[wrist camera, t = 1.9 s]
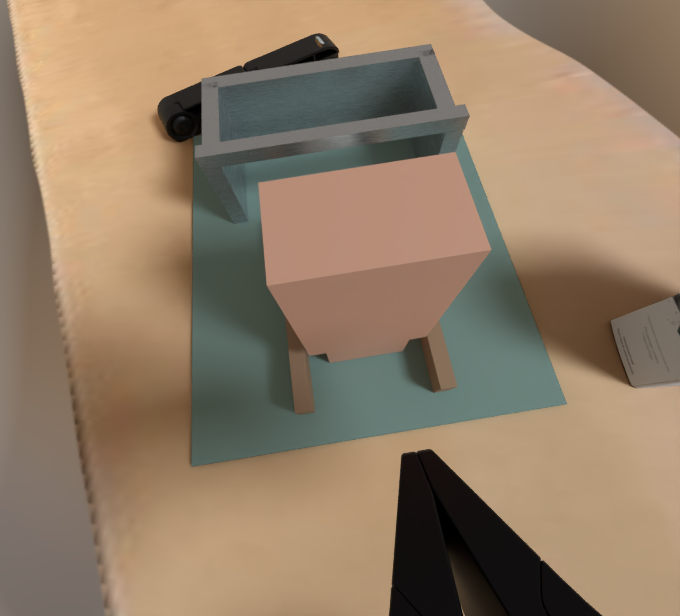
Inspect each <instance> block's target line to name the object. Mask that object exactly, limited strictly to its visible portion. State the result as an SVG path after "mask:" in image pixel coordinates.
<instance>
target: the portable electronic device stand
mask: <svg viewBox="0 0 680 616" xmlns="http://www.w3.org/2000/svg"><path fill="white" fill-rule="evenodd" d="M338 53H339V49H338V48H337V47H336V46H335V45H334V43H333V42H332V41H331V40H330V39H329V38H328V37H327V36H326V35H324V34H320V33H318V34H313V35H311V36H308V37H306V38H304V39H301V40H299V41H296V42H294V43H292V44H289V45H287V46H285V47H282V48H280V49H277V50H275V51H273V52H270V53H268V54H266V55H263V56H261V57H258V58H256V59H254V60H251V61H249V62H247V63H245V65H244V66H243V67H242V66H237V67H234V68H232V69H230V70H227V71H225V72H223V73H220V74H218V75H216V76H223V75H229V74H236V73H242V72H249V71H256V70H262V69H269V68H276V67H282V66H289V65H295V64H302V63H309V62H315V61H322V60H329V59H335V58H338ZM216 76H213V77H216ZM158 115H159V117H160V119H161V121H162V123H163V125H164V127H165V129H166V131H167V132H168V134H169V136H170V137H171V138H172V139H174V140H176V141H178V142H183V141H185V140H187V139H189V138H191V137H193V136H196V135H199V134H201V133H202V85H201V82H199V83H197V84H195V85H192V86H190V87H188V88H185V89H183V90H181V91H178V92H176V93H174V94H172V95H169V96H167V97H165V98H163V99H162V100H161V101H160V103H159V105H158Z"/></svg>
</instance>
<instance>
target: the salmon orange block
mask: <svg viewBox="0 0 680 616" xmlns="http://www.w3.org/2000/svg"><path fill="white" fill-rule="evenodd" d="M258 186H259V198H260V210H261V222H262V234H263V246H264V258H265V270H266V283H267V287H268V289H269V290H270V292H271V294H272V295H273V297H274V298H275V300H276V302H277V303H278V305H279V307H280V308H281V310H282V312H283V313H284V315H285V317H286V318H287V320H288V321H289V323H290V325H291V326H292V328H293V330H294V331H295V333H296V335H297V336H298V338H299V339H300V341H301V343H302V344H303V346H304V348H305V349H306V351H307V353H308V354H309V356H312V355H318V354H324V353H326V354H327V356H328V359H329V362H330V363H333V362H339V361H345V360H351V359H358V358H364V357H370V356H376V355H382V354H388V353H394V352H400V351H403V350H404V348H405V346H406V345H407V343H408V341H409V340H410V339H416V338H422V337H426V336H427V335H428V334H429V332H430V331H431V330H432V328H433V327H434V326H435V324H436V323H437V322H438V320H439V319H440V318H441V316H442V315H443V314H444V312H445V311H446V310H447V308H448V307H449V306H450V304H451V303H452V302H453V300H454V299H455V298H456V296H457V295H458V294H459V293H460V291H461V290H462V289H463V287H464V286H465V285H466V283H467V282H468V281H469V279H470V278H471V277H472V275H473V274H474V273H475V271H476V270H477V269H478V267H479V266H480V265H481V263H482V262H483V261H484V259H485V258H486V257H487V255H488V254H489V253H490V251H491V247H490V244H489V242H488V239H487V236H486V233H485V231H484V228H483V225H482V223H481V220H480V217H479V214H478V212H477V209H476V206H475V204H474V201H473V198H472V195H471V193H470V190H469V187H468V185H467V182H466V179H465V176H464V174H463V171H462V168H461V166H460V163H459V160H458V157H457V155H456V152H452V153H446V154H439V155H433V156H426V157H420V158H414V159H407V160H401V161H394V162H388V163H381V164H375V165H369V166H362V167H356V168H349V169H343V170H336V171H330V172H324V173H317V174H311V175H304V176H298V177H291V178H285V179H279V180H272V181H266V182H259V183H258Z"/></svg>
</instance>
